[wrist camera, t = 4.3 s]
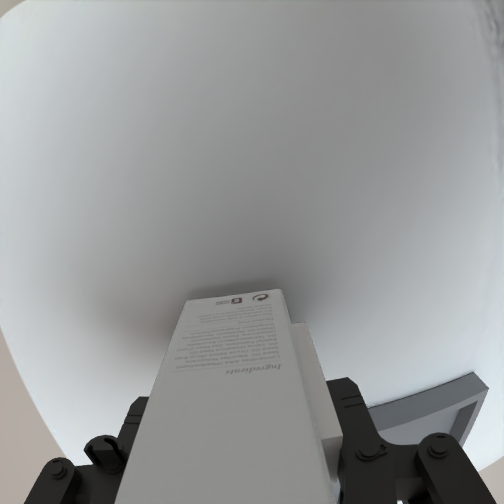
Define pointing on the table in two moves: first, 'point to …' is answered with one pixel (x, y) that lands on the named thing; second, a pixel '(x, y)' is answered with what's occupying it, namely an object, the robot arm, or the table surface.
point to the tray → (430, 414)
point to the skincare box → (229, 413)
